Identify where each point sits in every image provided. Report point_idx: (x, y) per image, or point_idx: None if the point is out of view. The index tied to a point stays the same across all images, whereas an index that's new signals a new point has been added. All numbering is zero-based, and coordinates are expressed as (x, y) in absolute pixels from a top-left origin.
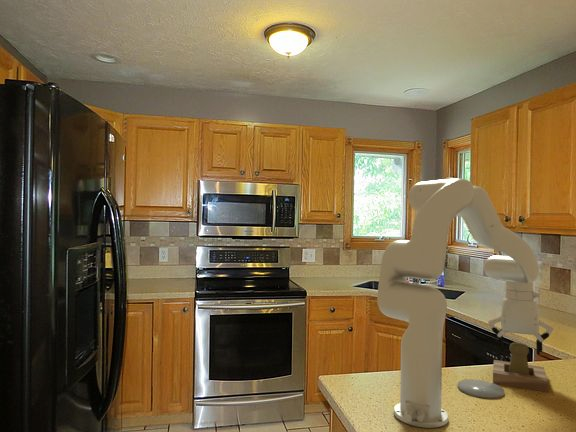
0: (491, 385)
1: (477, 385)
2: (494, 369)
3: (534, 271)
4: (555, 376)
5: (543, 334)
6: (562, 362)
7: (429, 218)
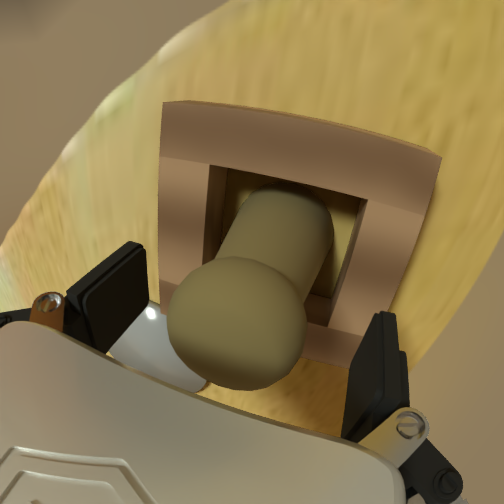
0: None
1: (140, 343)
2: (163, 274)
3: None
4: (484, 128)
5: (417, 481)
6: None
7: None
